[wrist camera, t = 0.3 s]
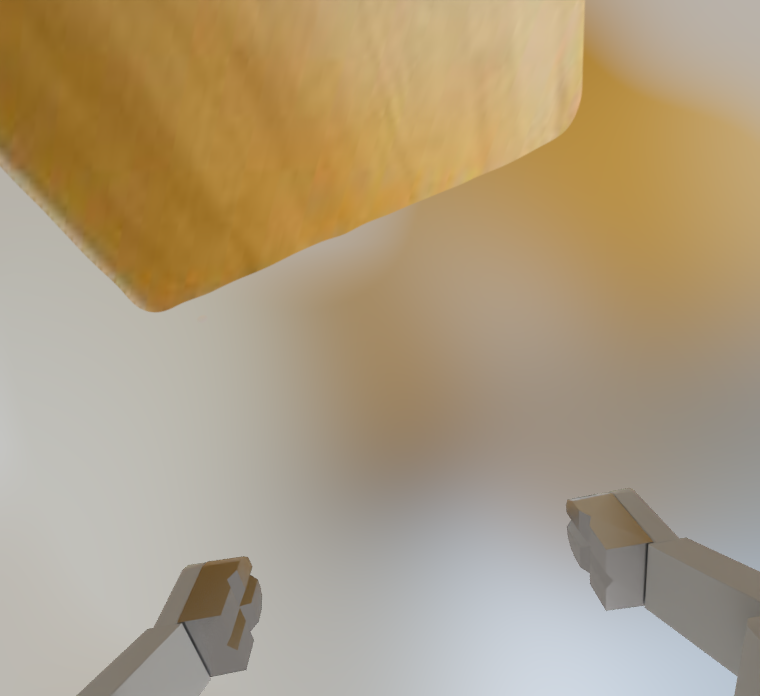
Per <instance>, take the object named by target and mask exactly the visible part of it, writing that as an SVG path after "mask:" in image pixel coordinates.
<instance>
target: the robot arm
mask: <svg viewBox="0 0 760 696" xmlns="http://www.w3.org/2000/svg"><path fill="white" fill-rule="evenodd" d="M566 510H567V514H568V515H569V517H570V518H571V521H570V523H569V524H568V526H567V531H568V539H569V543H570V546H571V549H572V551H573V554H574V556H575V558H576V560H577V562H578V564H579V565H580V567H581V568H583V569H584V570H586V571H587V572H589V573H590V584H591V586H592V588H593V589H594V591H595V593H596V595H597V596H598V598H599V600H600V601H601V603H602V605H603V606H604V608H605V610H606V611H607V610H614V609H622V608H630V607H637V606H645V608H646V609H647V610H649V611H650V612H652V613H653V614H654V615H656V616H657V617H658V618H660V619H661V620H662V621H664V622H665V623H666V624H668V625H669V626H670V627H672V628H673V629H674V630H676V631H677V632H678V633H680V634H681V635H682V636H684V637H685V638H687V639H688V640H689V641H691V642H692V643H693V644H695V645H696V646H697V647H699V648H700V649H701V650H703V651H704V652H705V653H707V654H708V655H709V656H711V657H712V658H714V659H715V660H716V661H717V662H719V663H720V664H721V665H723V666H724V667H726V668H727V669H728V670H730V671H731V672H732V673H734V674H735V675H736V676H738V678H737V684H736V689H735V695H734V696H760V572H759V571H757V570H755V569H752V568H750V567H748V566H746V565H744V564H742V563H740V562H737V561H735V560H733V559H731V558H729V557H727V556H724V555H722V554H720V553H718V552H716V551H714V550H711V549H709V548H707V547H705V546H703V545H701V544H699V543H697V542H694V541H692V540H690V539H688V538H680V539H679V538H678V537H677V536H676V534H675V533H674V532H673V531H672V530H671V529H670V528H669V527H668V526H667V525H666V524H665V523H664V522H663V521H662V520H661V518H660V517H659V516H658V515H657V514H656V513H655V512H654V511H653V510H652V509H651V508H650V507H649V506H648V505H647V504H646V502H645V501H644V500H643V499H642V498H641V497H640V496H639V495H638V494H637V493H636V492H635V491H634V490H633V489H631V488H626V489H621V490H615V491H610V492H605V493H600V494H594V495H589V496H584V497H578V498H573V499H568V500H567V504H566ZM251 570H252V565H251V563H250V560H249V558H248V557H244V556H243V557H236V558H230V559H223V560H216V561H209V562H206V563H199V564H192V565H188V566H187V567H185V568H184V569H183V570H182V572H181V574H180V576H179V578H178V580H177V582H176V584H175V586H174V588H173V590H172V592H171V595H170V596H169V598H168V601H167V602H166V604H165V606H164V608H163V610H162V612H161V614H160V616H159V618H158V620H157V622H156V624H155V626H154V628H151V629H147V630H146V631H145V632H144V633H143V634H142V635H141V636H140V637H138V638H137V639H136V640H135V641H134V642H133V643H132V644H131V645H130V646H129V647H128V648H127V649H126V650H125V651H124V652H122V653H121V654H120V655H119V656H118V657H117V658H116V659H115V660H114V661H113V662H112V663H111V664H110V665H109V666H108V667H106V668H105V669H104V671H102V672H101V673H100V674H99V675H98V676H97V677H96V678H95V679H94V680H93V681H92V682H90V684H88V685H87V686H86V687H85V688H84V689H83V690H82V691H81V692H80V693H79V694H78V695H77V696H199V695H200V694H201V692H202V691H203V690H204V688H205V687H206V685H207V684H208V683H209V681H210V679H211V678H210V677H213V676H218V675H223V674H227V673H233V672H237V671H243V670H246V669H247V665H248V661H249V657H250V653H251V649H252V646H253V641H254V639H253V637H252V635H251V632H250V631H251V630H252V629H253V628H254V627H255V625H256V624H257V623H258V622H259V618H260V613H261V608H262V593H261V588H260V584H259V582H258V580H257V579H256V578H254V577H253V576H251V575H250V573H251Z"/></svg>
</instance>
